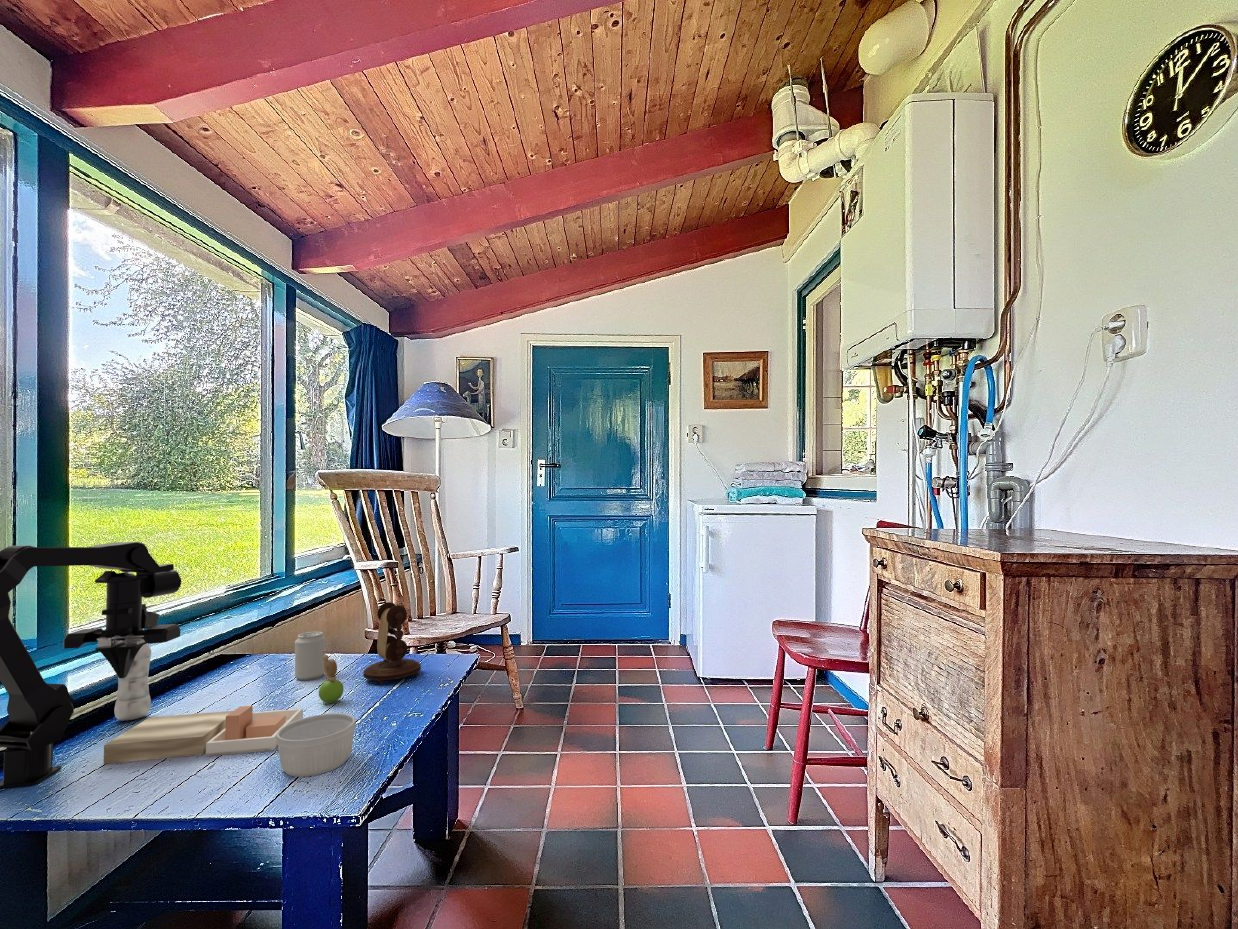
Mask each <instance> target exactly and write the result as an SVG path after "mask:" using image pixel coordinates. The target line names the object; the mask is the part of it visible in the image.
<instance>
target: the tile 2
mask: <svg viewBox="0 0 1238 929" xmlns="http://www.w3.org/2000/svg"><path fill="white" fill-rule="evenodd" d="M285 723H286V715H281V716H268V717H258V718H257V719H255V720H254V721H253V722H252V723H251V724H249V725H248V726H247V727H246V739H247V738H259V737H270V736H272V735H273V734H274V733H275V732H276V731H277V730H279V729H280V728H281V727H282V726H283V725H284V724H285Z"/></svg>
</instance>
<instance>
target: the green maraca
mask: <svg viewBox="0 0 1238 929" xmlns="http://www.w3.org/2000/svg"><path fill="white" fill-rule="evenodd" d="M322 652H323V666H324V672H325V673H324V675H325V677H326V679H327V680H325V681H324V682H323V683H322V684H321V685H320V687H319V690H318V698H319V699H320V700H321V702H323V703H326V704H332V703H336V702H337V701H338V700H340V699H341V698H342V696H343V693H344V691H345V690H344V684H342V682H341V681H340V680H338V679H337V676H336V675H337V672H338V663H337V662H336V660H335V659H334V658H330V657H329V655H327V654H325V655H324V652H325V653H327V652H328V649H325V651H324V650H323V651H322ZM329 658H330V659H329Z"/></svg>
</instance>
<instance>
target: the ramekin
mask: <svg viewBox="0 0 1238 929" xmlns="http://www.w3.org/2000/svg"><path fill="white" fill-rule="evenodd" d="M355 729H356V717H354V715H351V714H348V713H342V712H332V713H323V714H322V713H321V714H316V715H312V716H311V715H310V716H307V717H303V719H300V720H297V721H294V722H292V723H289V724H287V725H285V726H284V727H282V728H281V729H280V730H279V731H278V732H277V734H276V743H277V744H278V746H277V747H278V755H279V763H280V766H281V769H282V771H283V772H284V773H286V774H287V775H289V776H291V777H292V776H293V777H297V778H300V777H302V778H303V777H304V778H305V777H312V776H313V777H314V776H318V775H322V774H325V773H328V772H330V771H333V770H335V769H337V768H339V767H341V766H342V765H343V764H345V763H346V762H347V761H348V759H349V757H350V756H351V754H352V752H353V751H352V750H353V744H354V743H353V742H354V733H355Z"/></svg>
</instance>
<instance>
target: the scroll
mask: <svg viewBox="0 0 1238 929" xmlns="http://www.w3.org/2000/svg"><path fill="white" fill-rule="evenodd" d="M376 615H377V618H378V620H379V625H378V631H377V642H376V643H377V644H376V650H377V652H376V653H377V654H378V656H379V657H380V658H381V659H383V660H380V661H378V662H374V663H372V664H370V665H368V667H366V668H364V669H363V674H362V675H363V676H362V677H364V679H367V680H369V681H379V685H380V686H383V684H384V683H385V681H390V680H391V681H392V680H397V679H402V678H406V677H410V676H413V675H414V677H415V678H417V677H418V675H419V672H420V671H421V669H422V666H421V662H419V661H416V660H414V659H411V658H404V657H405V656H406V655H407V652H408V644H407V642H406V641H405V640H402V639H403V637H404V631H403V630H402V629H403V624H404V623H405V622H406V620H407V618H408V617H407V616H408V611H407V609H406V608H405V607H404V606H403V605H398V604H395V603H393V602H390V601H388V602H387V601H386V602H385V603H382V605H380V606H379V608H378V609H377V614H376ZM388 634H389V635H388Z"/></svg>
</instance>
